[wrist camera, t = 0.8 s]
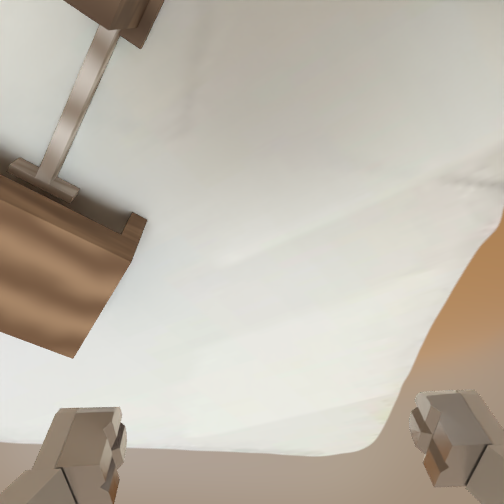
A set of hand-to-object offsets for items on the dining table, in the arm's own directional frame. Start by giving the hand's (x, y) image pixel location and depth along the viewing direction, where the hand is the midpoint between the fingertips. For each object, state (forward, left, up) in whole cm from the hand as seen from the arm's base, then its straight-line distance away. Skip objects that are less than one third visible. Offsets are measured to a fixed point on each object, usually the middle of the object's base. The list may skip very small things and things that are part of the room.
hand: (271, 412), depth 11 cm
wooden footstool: (+25, -15, -38) cm, 48 cm away
